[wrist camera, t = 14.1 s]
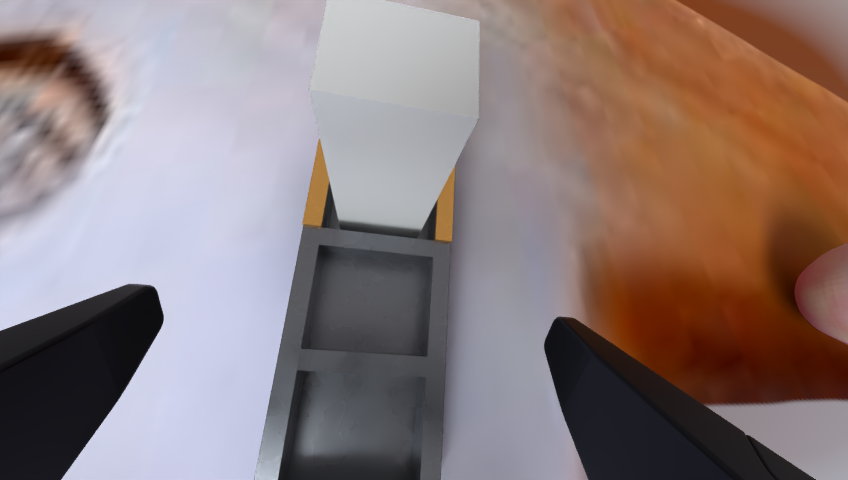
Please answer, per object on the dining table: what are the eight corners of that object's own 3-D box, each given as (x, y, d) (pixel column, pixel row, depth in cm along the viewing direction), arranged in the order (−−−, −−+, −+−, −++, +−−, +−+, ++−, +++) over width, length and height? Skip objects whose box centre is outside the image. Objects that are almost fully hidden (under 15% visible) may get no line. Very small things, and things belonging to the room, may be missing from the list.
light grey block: (416, 239, 21) (479, 118, 10) (340, 230, 21) (308, 89, 9) (420, 185, 23) (479, 20, 11) (348, 176, 22) (329, -12, 10)
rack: (425, 495, 18) (439, 532, 15) (267, 495, 17) (241, 536, 13) (442, 174, 24) (455, 146, 21) (328, 157, 23) (321, 124, 20)
